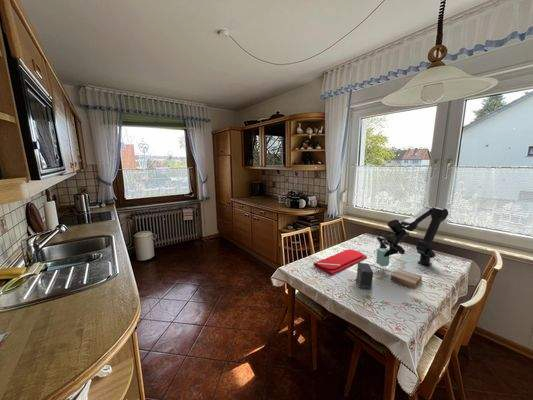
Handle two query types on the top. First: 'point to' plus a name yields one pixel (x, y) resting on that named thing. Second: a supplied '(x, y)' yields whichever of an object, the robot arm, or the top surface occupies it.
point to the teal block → (382, 257)
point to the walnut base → (406, 278)
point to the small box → (364, 276)
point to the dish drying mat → (339, 261)
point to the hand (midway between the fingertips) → (381, 254)
